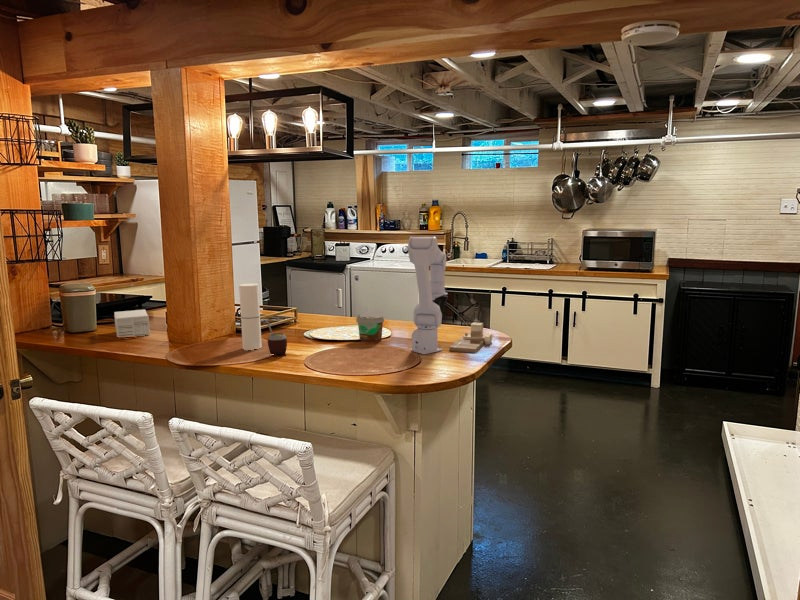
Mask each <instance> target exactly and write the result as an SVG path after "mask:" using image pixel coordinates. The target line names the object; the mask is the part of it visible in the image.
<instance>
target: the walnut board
mask: <svg viewBox="0 0 800 600" xmlns="http://www.w3.org/2000/svg"><path fill="white" fill-rule="evenodd" d="M484 345H486V344H485V341H481V340H468V339H463V336H461V337H460V338H459V339H457V340H456V341H455V342H454V343H453V344H451V345H450V346H449V351H450V352H461V353H470V352H471V353H473V354H475V353H477V352H478V351H479V350H480V349H481V348H482V347H484Z"/></svg>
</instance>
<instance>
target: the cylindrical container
mask: <svg viewBox="0 0 800 600" xmlns="http://www.w3.org/2000/svg"><path fill="white" fill-rule="evenodd" d="M238 285H239V287H238V290H239V305H240V323H241V325H240V326H241V339H242V341H241V343H242V350H243V349H244V350H243V351H248V350H251V351H255V350H254V349H258V350H260V349H259V348H261V347H262V345H263V344H262V330H261V310H260V308H261V306H260V289H259V288H260V287H259V283H242V284H238ZM262 348H263V347H262ZM262 348H261V349H262Z"/></svg>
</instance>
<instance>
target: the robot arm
mask: <svg viewBox="0 0 800 600" xmlns="http://www.w3.org/2000/svg"><path fill="white" fill-rule="evenodd" d="M438 243H439V241H438V238H437V237H436V236H410V237H409V239H408V241H407V253H408V259H409V262H410V263H411V264H413V265H414V269H415V277H416V282H417V283H416V284H417V291H418V299H419V302H418V304H416V305H415V306H414V309H413V324H414V325H415V327H416V329H414V330H413V331H412V333H411V349H410V351H411V352H414V353H418V354H422V355H428V354H432V353H433V354H434V353H437V352H440V351H443V348H439V345H438V328H439V327H441V325H442V321H443V320H442V319H443V314H444V311H445V308H446V307H445V306H446V303H447V300H448V299H449V295H448V294H449V293H448V292H446V289H445V288H446V287H445V285H446V284H445V280H446V279H445V278H446V277H445V275H446V273H445V271H446V269H447V268H446V267H447V266H446V264H447V253H445V252H444V251H442V250H441V249H440V247H439V244H438ZM429 268H430V269H429Z"/></svg>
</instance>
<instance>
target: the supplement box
mask: <svg viewBox="0 0 800 600" xmlns="http://www.w3.org/2000/svg"><path fill="white" fill-rule="evenodd" d="M113 313H114V314H113V315H114V326H115V327H114V328H115V333H116V338H117V337H130V336H144V335H150V336H151V330H150V328H151V327H150V318H149V317H150V316H149V314H148V313H147V310H146V309H135V310H124V311H114V312H113ZM144 337H145V336H144Z"/></svg>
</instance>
